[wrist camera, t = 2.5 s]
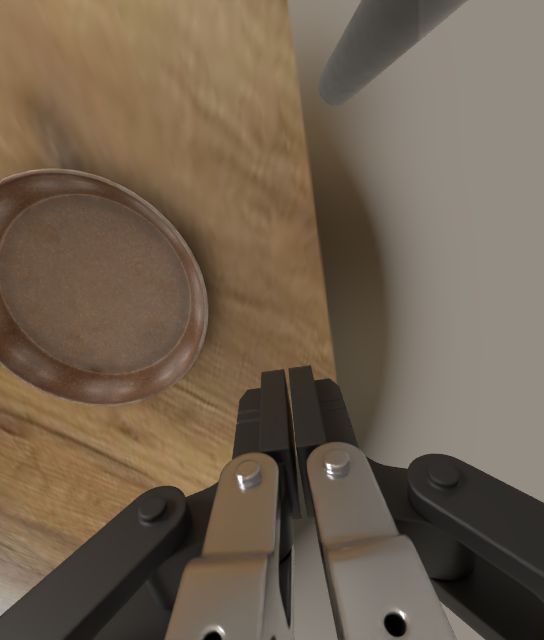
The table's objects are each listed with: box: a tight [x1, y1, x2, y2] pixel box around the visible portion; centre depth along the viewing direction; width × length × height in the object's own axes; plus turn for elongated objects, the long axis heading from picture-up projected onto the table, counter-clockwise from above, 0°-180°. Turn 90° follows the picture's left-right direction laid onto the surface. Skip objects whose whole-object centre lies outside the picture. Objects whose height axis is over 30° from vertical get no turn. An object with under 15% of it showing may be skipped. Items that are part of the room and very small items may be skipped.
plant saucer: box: [0, 169, 208, 406], centre depth 27 cm, size 18×18×3 cm
